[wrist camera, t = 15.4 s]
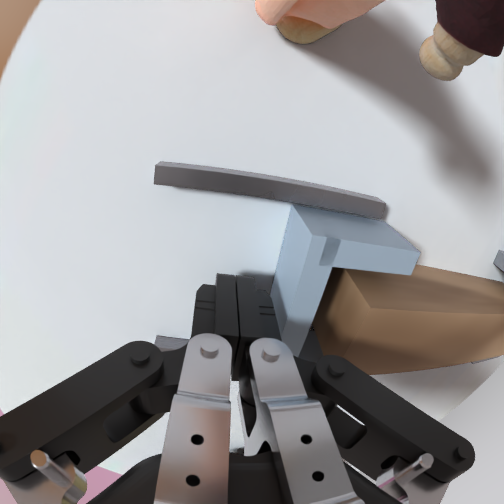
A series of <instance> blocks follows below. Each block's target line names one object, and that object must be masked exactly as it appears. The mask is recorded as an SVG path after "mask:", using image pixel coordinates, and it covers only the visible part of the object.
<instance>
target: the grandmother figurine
mask: <svg viewBox="0 0 504 504" xmlns="http://www.w3.org/2000/svg"><path fill="white" fill-rule="evenodd" d="M383 1H385V0H255V7H256V12H257V14H258V15H259V16H260V18H261V19H262V20H263V21H264V22H265V23H266V24H268V25H273V26H274V25H276V26H277V27H278V29H279V31H280V32H281V33H282V35H283V36H284V37H286V38H287V39H289V40H290V41H292V42H295V43H299V44H309V43H312V42H314V41H316V40H318V39H320V38H322V37H323V36H325V35H327V34H329V33H330V32H332V31H334V30H336V29H338V28H339V27H340V26H341V25H342V24H343V23H345V22H347V21H350V20H352V19H355V18H357V17H359V16H361V15H363V14H365V13H367V12H368V11H369V10H371V9H372V8H374V7H375V6H377V5H378V4H380V3H382V2H383ZM435 1H436V10H437V20H438V21H437V24H436V25H435V27H434V30H433V31H434V35H433V36H430V37H429V38H427V39H426V40H425V41H424V42H423V44H422V46H421V48H420V52H419V56H420V61H421V64H422V66H423V67H424V69H425V70H426V71H427V72H428V73H429V74H430V75H432V76H433V77H435V78H437V79H440V80H443V81H451V80H453V79H455V78H456V77H458V76H459V74H460V73H461V71H462V69H463V66H464V65H465V66H468V65H471V64H473V63H474V62H475V61H476V60H478V59H479V58H480V57H481V56H483V55H484V54H485V55H488V56H492V57H497V56H499V55H500V54H501V52H502V49H503V47H504V0H435Z"/></svg>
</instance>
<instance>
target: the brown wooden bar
mask: <svg viewBox="0 0 504 504" xmlns="http://www.w3.org/2000/svg"><path fill="white" fill-rule="evenodd" d="M312 325H313V327H314V330H315V333H316V336H317V338H318V341H319V344H320V347H321V349H322V352H323V355H324V356H325V355H337V356H340V357H343V358H345V359H346V360H348V361H349V362H351V363H352V364H353V365H355V366H356V367H358V368H359V369H361V370H362V371H363V372H365V373H366V374H368V375H377V374H390V373H401V372H410V371H418V370H426V369H433V368H440V367H447V366H453V365H458V364H464V363H469V362H474V361H479V360H484V359H488V358H492V357H497V356H501V355H504V283H503V282H500V281H495V280H490V279H486V278H481V277H476V276H471V275H467V274H462V273H457V272H452V271H447V270H442V269H437V268H432V267H427V266H422V265H417V264H416V265H415V267H414V269H413V272H412V274H411V275H403V274H393V273H384V272H375V271H366V270H357V269H348V268H339V267H332V269H331V272H330V275H329V278H328V281H327V284H326V286H325V289H324V292H323V295H322V298H321V300H320V303H319V306H318V308H317V311H316V314H315V316H314V319H313V321H312Z"/></svg>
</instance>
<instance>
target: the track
mask: <svg viewBox="0 0 504 504" xmlns="http://www.w3.org/2000/svg"><path fill="white" fill-rule="evenodd" d="M154 184H156V185H166V186H176V187H185V188H194V189H202V190H211V191H219V192H226V193H234V194H241V195H248V196H255V197H262V198H268V199H275V200H281V201H287V202H293V203H299V204H305V205H311V206H316V207H322V208H327V209H333V210H338V211H343V212H349V213H354V214H359V215H364V216H368V217H373V218H378V219H381V218H382V215H383V212H384V209H385V206H386V203H385V202H383V201H382V200H380V199H379V198H377V197H373V196H369V195H365V194H360V193H356V192H352V191H347V190H343V189H338V188H334V187H329V186H324V185H319V184H314V183H309V182H304V181H299V180H293V179H288V178H282V177H277V176H271V175H265V174H258V173H252V172H245V171H238V170H231V169H224V168H216V167H208V166H200V165H191V164H182V163H172V162H161V161H160V162H159V163H158V164H156V165H155V175H154ZM188 342H189V340H186V339H178V338H170V337H162V336H156V340H155V344H154V345H155V346H157V347H158V348H159V349H160V350H161V352H164V351H171V350H176V349H179V348H181V347H183V346H184V345H186V344H187V343H188Z"/></svg>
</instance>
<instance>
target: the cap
mask: <svg viewBox="0 0 504 504" xmlns="http://www.w3.org/2000/svg"><path fill="white" fill-rule="evenodd" d="M420 253H421V252H420V251H419V250H417V249H416V248H415V247H414V246H413V245H412V244H411V243H410V242H408V241H407V240H406V239H405V238H404V237H403V236H401V235H400V234H399V233H398V232H397V231H396V230H394V229H393V228H392V227H391V226H390V225H388V224H387V223H386V222H384V221H379V220H375V219H370V218H365V217H360V216H355V215H350V214H344V213H339V212H334V211H328V210H323V209H317V208H312V207H306V206H300V205H294V204H292V206H291V211H290V215H289V219H288V223H287V228H286V232H285V236H284V240H283V244H282V248H281V252H280V256H279V260H278V264H277V268H276V272H275V276H274V280H273V284H272V288H271V292H270V297H271V298H272V301H273V305H274V309H275V313H276V318H277V322H278V326H279V330H280V335H281V339H282V342H283V343H285V344H286V345H287V346H288V347H289V348H290V350H291V352H292V355H294V356H296V357H298V358H301V359H304V360H308V361H312V362H315V363H317V361H318V360H319V359H320V358H321V357H323V356H324V355H323V352H322V349H321V347H320V344H319V341H318V338H317V336H316V333H315V331H309V329H310V327H311V324H312V321H313V319H314V316H315V314H316V311H317V308H318V306H319V303H320V300H321V298H322V295H323V292H324V289H325V286H326V284H327V281H328V278H329V275H330V272H331V269H332V267H339V268H348V269H357V270H366V271H375V272H384V273H393V274H403V275H411V274H412V272H413V269H414V267H415V265H416V262H417V260H418V258H419V255H420Z"/></svg>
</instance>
